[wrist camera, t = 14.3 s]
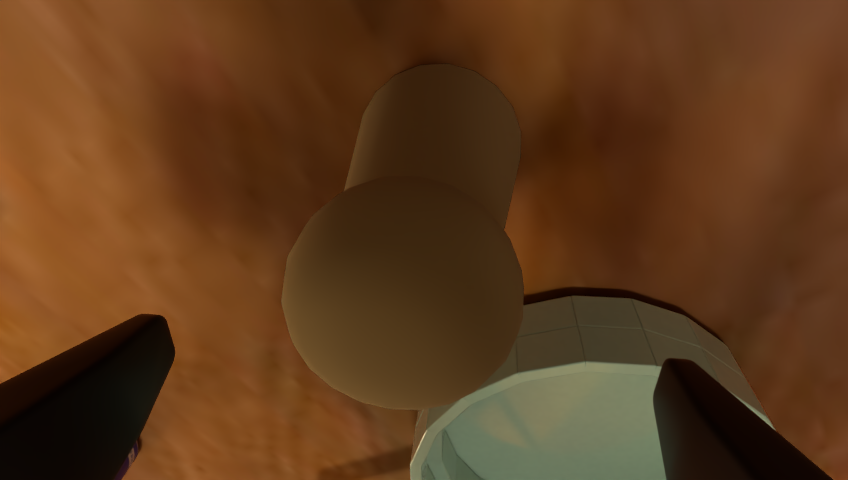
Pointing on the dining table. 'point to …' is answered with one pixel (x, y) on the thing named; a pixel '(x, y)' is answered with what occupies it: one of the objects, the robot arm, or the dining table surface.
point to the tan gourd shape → (414, 248)
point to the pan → (572, 397)
